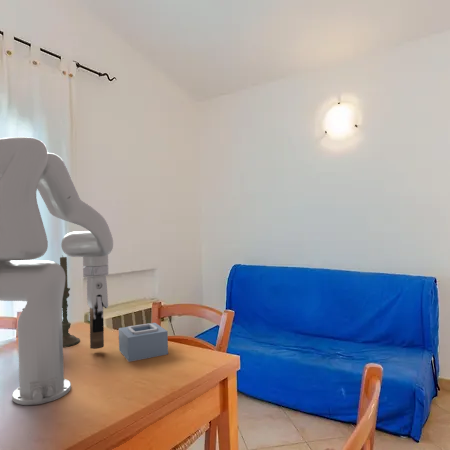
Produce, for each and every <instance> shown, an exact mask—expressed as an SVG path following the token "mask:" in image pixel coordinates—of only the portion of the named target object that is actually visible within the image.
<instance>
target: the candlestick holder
mask: <svg viewBox="0 0 450 450" xmlns="http://www.w3.org/2000/svg"><path fill="white" fill-rule="evenodd" d="M59 265H60V266H61V267H62V268H63V269H64V272H65V287H64V293H63V301H62V335H63V348H66V347H71V346H74V345H77V344H79V343H80V341H81V340H80V337H79V338H78V337H76V336H75V335H73V334H71V333H70V332H69V330H70V328H71V322H69V320H68V307H69V304H68V298H69V297H70V293H69V292H70V291H71V287H69V286H68V258H67V257H66V256H64V255H61V256H60V257H59Z"/></svg>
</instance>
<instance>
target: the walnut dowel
mask: <svg viewBox="0 0 450 450" xmlns="http://www.w3.org/2000/svg"><path fill="white" fill-rule="evenodd" d="M95 309H97V307H95ZM95 312H96V311H95ZM92 319H93V309H91V308H90V307H89V339H90V340H89V345H90V349H91V350H92V349H93V350H97V349H102V348H104V346H105V342H104V341H105V340H104V337H105V333H104V331H103V332H95V333H93V326H92Z"/></svg>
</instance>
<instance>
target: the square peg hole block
mask: <svg viewBox="0 0 450 450" xmlns="http://www.w3.org/2000/svg"><path fill="white" fill-rule="evenodd" d="M118 350H119V352H120V353H121V354H122V355H123V357H124V358H125V359H126V360H127V362H130V363H131V362H134V361H140V360H141V361H142V360H145V359H151V358H154V357H160V356H166V355H169V341H168V330H166V329H165V328H164V327H162V326H161V325H159V323H156V322H150V323H144V324H135V325H129V326H125V327H118Z"/></svg>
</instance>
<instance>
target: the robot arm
mask: <svg viewBox="0 0 450 450" xmlns="http://www.w3.org/2000/svg"><path fill="white" fill-rule="evenodd" d="M47 148H48V147H47V146H46V144H45V143H44V141H42V140H40V139H38V138H36V137H32V136H31V137H30V136H28V137H27V136H14V137H13V136H12V137H1V138H0V301H1V302H2V301H3V302H19V301H20V302H26V304H25V306H24V307H23V308H24V309H23V308H22V311H21V312H20V314H19V317H18V320H17V341H18V342H17V344H18V346H17V347H18V349H17V351H18V377H19V378H18V379H19V380H18V381H19V383H18V384H19V387H17V388H16V389H14V391H13V392H12V394H11V396H12V397H11V399H12V401H13V402H14V403H15V404H17V405H21V406H23V405H24V406H33V405H35V406H36V405H41V404H45V403H49V402H53V401H56V400H58V399H60V398H62V397H64V396H65V395H67V394H68V393H69V392H70V391H71V388H72V383H71V381H69V380H68V379H66V378H65V376H64V375H65V374H64V347H63V335H62V321H63V315H62V314H63V313H62V312H63V311H62V301H63V293H64V287H65V272H64V269H63V268H62V267H61V266H60V263H57V262H56V261H52V260H44V259H43V260H42V259H40V258H41V257H43V256H44V255H45V254H46V253H47V251H48V248H49V246H48V245H49V244H48V243H49V242H48V236H47V232H46V230H45V226H44V222H43V219H42V218H43V217H42V215H41V211H40V208H39V205H38V200H37V191H38V193H39V194H40V196H41V199H42V200H43V202H44V204H45V206H46V208H47V210H48V212H49V214H50V215H52V216H53V217H55V218H57V219H60V220H63V221H65V222H69V223H72V224H74V225H78V226H79V227H82V228H84V229H86V230H84V231H83V230H82V231H71V232H68V233H67V234H65V235H64V236H63V238H62V240H61V244H60V245H61V250H62V252H63V253H64V254H65V255H67V256H68V257H72V258H81V257H82V272H83V273H82V277H83V278H86V300H87V301H86V302H87V305H88V307H89V309H90V308H91V309H93V319H92V326H93V333H95V332H103V331H104V330H105V329H104V328H105V327H104V323H105V321H104V308H105V309H108V307H109V300H108V299H109V298H108V295H109V294H108V284H107V283H108V282H107V277H108V276H109V255H110V254H111V253H112V252H113V249H114V240H113V234H112V232H111V230H110V226H109V224H108V222H107V220H106V219H105V218H104V216H103V215H102V214H101V213H100V212H99V211H97V210H96V209H95V208H94V207H92V206H91V205H89V204H88V203H86V202H85V201H83V200H82V199H81V198H80V196H79V194H78V191H77V189H76V186H75V184H74V182H73V179H72V177H71V175H70V172H69V170H68V168H67V166H66V164H65V162H64V160H63V158H62V157H61V156H59V155H58V154H55V153H53V152H48V149H47ZM39 259H40V260H39ZM95 307H97V309H95ZM95 311H96V312H95Z"/></svg>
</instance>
